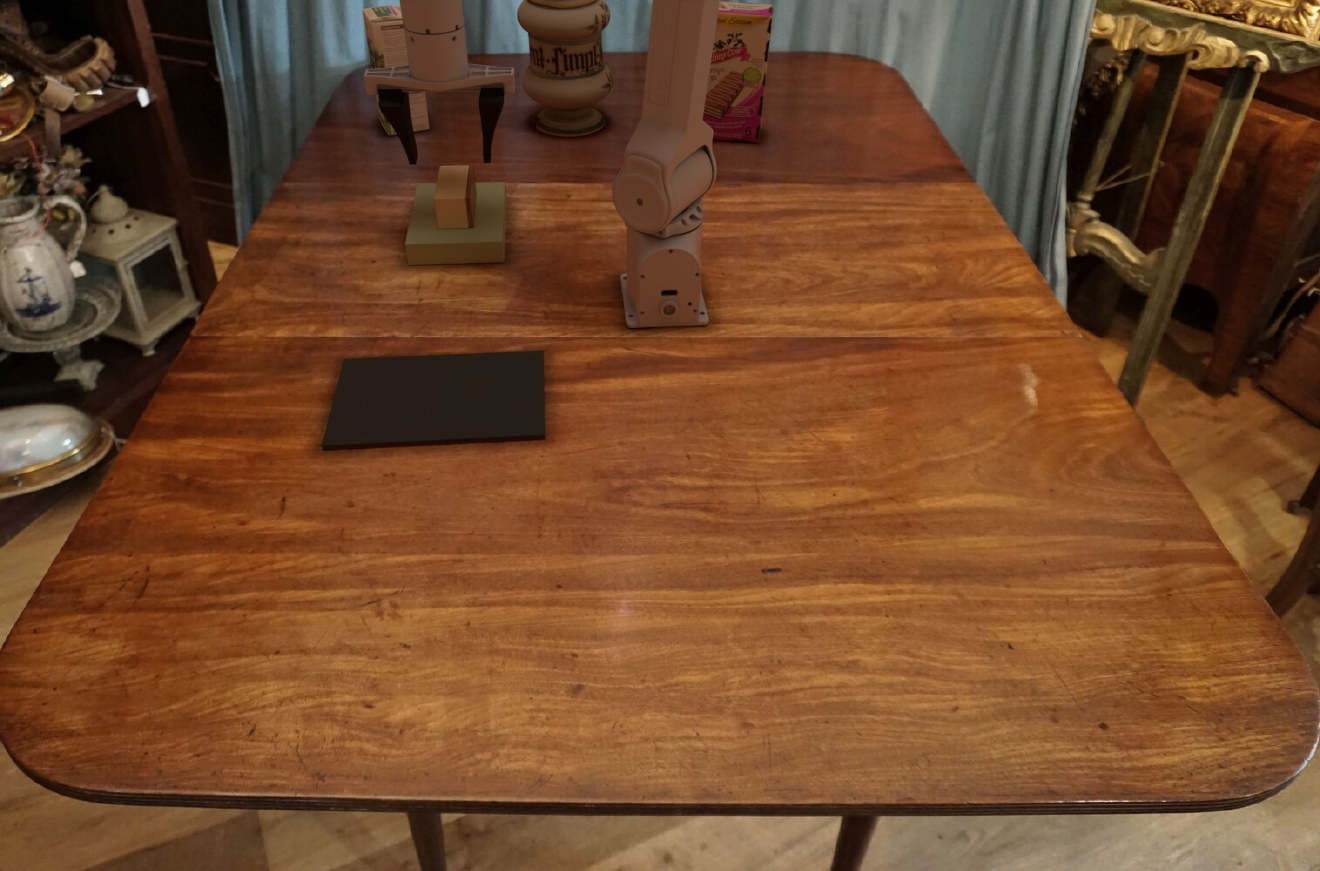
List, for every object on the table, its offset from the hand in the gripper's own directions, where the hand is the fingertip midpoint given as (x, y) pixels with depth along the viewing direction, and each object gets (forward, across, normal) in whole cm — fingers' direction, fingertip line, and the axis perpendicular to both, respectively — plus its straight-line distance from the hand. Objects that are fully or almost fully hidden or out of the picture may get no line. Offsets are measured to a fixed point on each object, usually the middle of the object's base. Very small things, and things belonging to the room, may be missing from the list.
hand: (450, 159), depth 98 cm
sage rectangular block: (+8, 0, 0) cm, 8 cm away
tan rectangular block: (+6, 0, 0) cm, 6 cm away
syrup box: (+9, +9, -30) cm, 33 cm away
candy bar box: (+9, -33, -25) cm, 42 cm away
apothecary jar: (+9, -13, -30) cm, 34 cm away
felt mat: (+8, 0, +30) cm, 31 cm away
